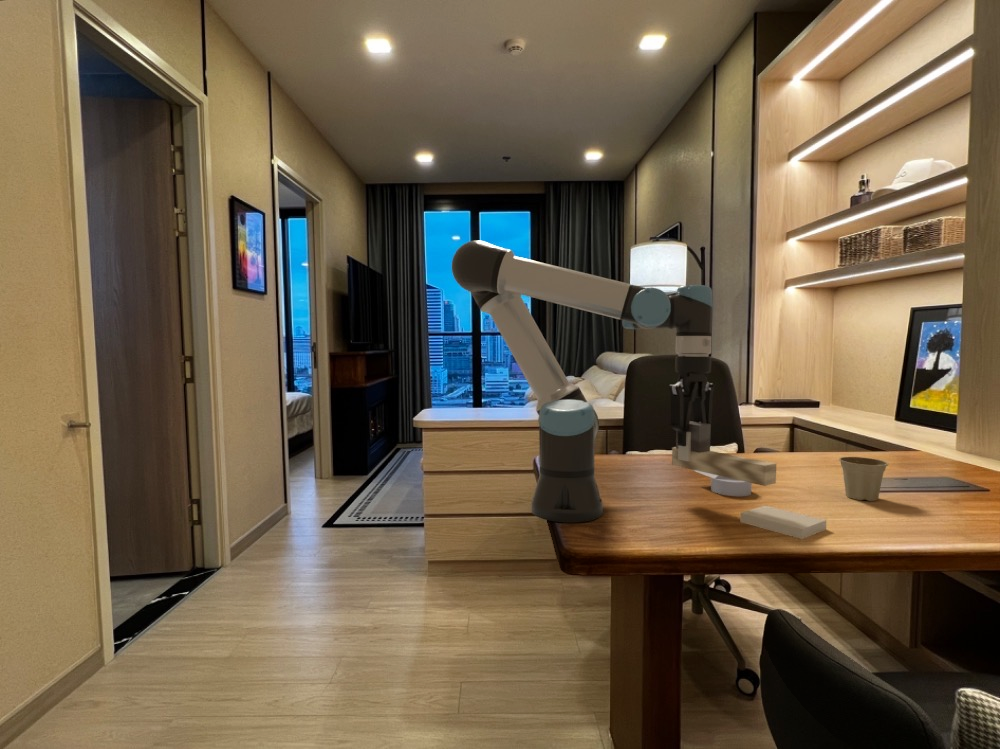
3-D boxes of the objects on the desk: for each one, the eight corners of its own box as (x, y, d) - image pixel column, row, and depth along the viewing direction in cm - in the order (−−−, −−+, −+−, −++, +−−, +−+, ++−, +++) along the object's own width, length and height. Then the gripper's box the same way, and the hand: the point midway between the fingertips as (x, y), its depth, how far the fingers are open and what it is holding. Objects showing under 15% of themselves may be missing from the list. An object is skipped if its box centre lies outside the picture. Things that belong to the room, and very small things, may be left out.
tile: (740, 524, 108) (802, 541, 98) (740, 512, 107) (802, 529, 98) (765, 516, 113) (826, 532, 103) (765, 505, 112) (826, 520, 103)
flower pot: (890, 497, 124) (891, 460, 124) (883, 506, 117) (884, 467, 117) (842, 490, 130) (843, 454, 130) (834, 498, 124) (834, 461, 123)
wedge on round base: (694, 484, 138) (726, 497, 125) (694, 457, 137) (726, 469, 125) (724, 481, 140) (759, 494, 127) (725, 456, 139) (760, 466, 127)
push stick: (775, 483, 107) (777, 433, 107) (764, 486, 105) (766, 435, 105) (683, 462, 126) (684, 420, 125) (671, 464, 123) (672, 421, 123)
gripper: (683, 355, 112) (680, 466, 113) (731, 355, 122) (728, 457, 123) (654, 355, 118) (652, 460, 120) (702, 355, 128) (699, 452, 129)
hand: (690, 458), depth 121 cm, fingers closed on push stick, 4 cm apart
